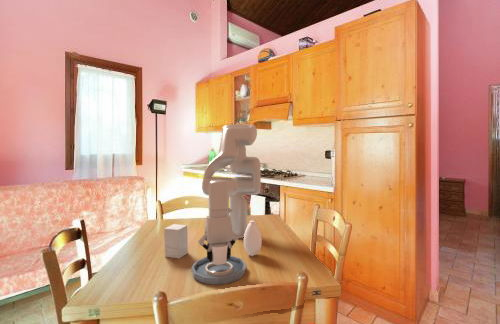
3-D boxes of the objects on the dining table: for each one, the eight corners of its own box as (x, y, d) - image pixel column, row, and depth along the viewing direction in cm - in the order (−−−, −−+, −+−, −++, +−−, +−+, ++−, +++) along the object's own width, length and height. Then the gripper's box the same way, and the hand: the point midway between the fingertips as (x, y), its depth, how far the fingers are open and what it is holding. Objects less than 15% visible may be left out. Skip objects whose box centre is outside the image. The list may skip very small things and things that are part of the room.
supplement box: (188, 252, 121) (188, 225, 120) (178, 259, 114) (178, 229, 113) (174, 250, 123) (174, 223, 123) (164, 256, 116) (163, 228, 116)
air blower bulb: (248, 260, 113) (248, 218, 112) (240, 253, 120) (240, 213, 119) (264, 256, 117) (264, 215, 116) (256, 250, 123) (256, 212, 122)
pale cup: (210, 258, 106) (210, 240, 105) (227, 257, 106) (227, 240, 106) (209, 265, 99) (209, 247, 98) (227, 265, 99) (228, 246, 99)
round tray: (234, 257, 116) (234, 252, 116) (253, 278, 98) (253, 271, 97) (187, 265, 108) (187, 259, 108) (198, 289, 90) (198, 282, 90)
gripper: (236, 208, 108) (236, 252, 109) (193, 212, 102) (194, 259, 103) (243, 212, 102) (243, 259, 103) (198, 217, 95) (198, 267, 96)
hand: (219, 258), depth 103 cm, fingers closed on pale cup, 6 cm apart
